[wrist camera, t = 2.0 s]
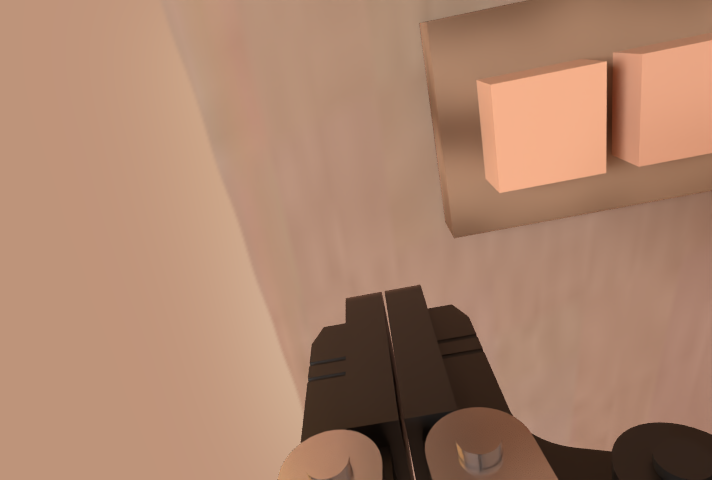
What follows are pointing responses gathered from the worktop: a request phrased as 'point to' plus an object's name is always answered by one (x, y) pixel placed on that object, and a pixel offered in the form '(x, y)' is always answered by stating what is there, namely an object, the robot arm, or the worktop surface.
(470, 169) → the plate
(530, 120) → the tile
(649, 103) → the tile
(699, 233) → the worktop surface
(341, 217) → the worktop surface
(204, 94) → the worktop surface
